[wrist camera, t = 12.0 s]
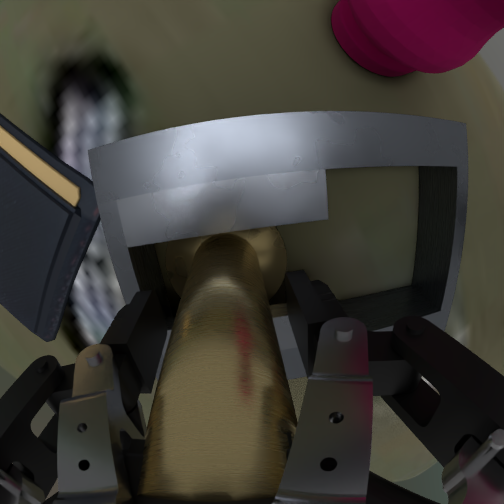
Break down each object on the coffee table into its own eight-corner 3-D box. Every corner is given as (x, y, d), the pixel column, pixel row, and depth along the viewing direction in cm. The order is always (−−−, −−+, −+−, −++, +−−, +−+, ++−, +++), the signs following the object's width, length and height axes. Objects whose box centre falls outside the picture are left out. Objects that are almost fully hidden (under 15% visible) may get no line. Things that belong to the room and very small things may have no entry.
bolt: (276, 190, 15) (454, 383, 2) (285, 293, 17) (360, 515, 5) (161, 207, 15) (-14, 406, 2) (184, 306, 17) (142, 529, 4)
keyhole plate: (427, 123, 14) (465, 123, 10) (417, 310, 19) (442, 336, 15) (119, 148, 14) (87, 150, 10) (171, 352, 19) (163, 391, 15)
